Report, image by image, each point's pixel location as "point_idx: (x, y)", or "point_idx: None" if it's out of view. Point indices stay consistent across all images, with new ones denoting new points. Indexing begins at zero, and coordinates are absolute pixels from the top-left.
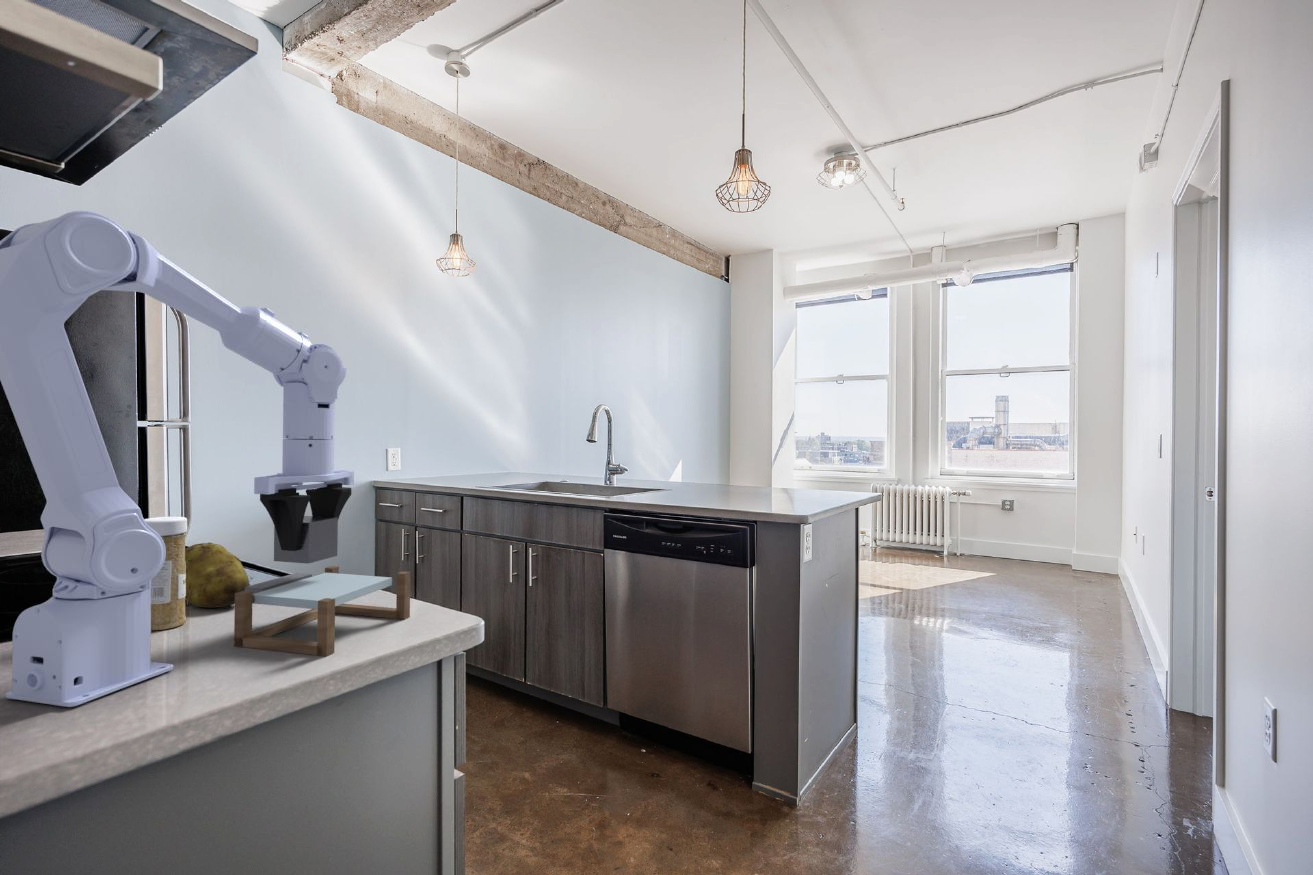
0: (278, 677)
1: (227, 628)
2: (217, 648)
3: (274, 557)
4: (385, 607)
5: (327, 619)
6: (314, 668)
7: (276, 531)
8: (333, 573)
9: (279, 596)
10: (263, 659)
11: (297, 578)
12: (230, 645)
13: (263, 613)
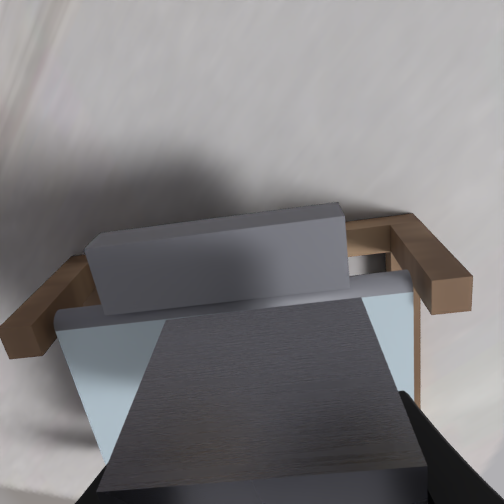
0: (32, 456)
1: (144, 96)
2: (41, 235)
3: (164, 330)
4: (419, 389)
5: None
6: (89, 473)
7: (86, 491)
8: (407, 325)
9: (92, 413)
10: (63, 374)
11: (271, 296)
12: (70, 242)
13: (305, 42)
